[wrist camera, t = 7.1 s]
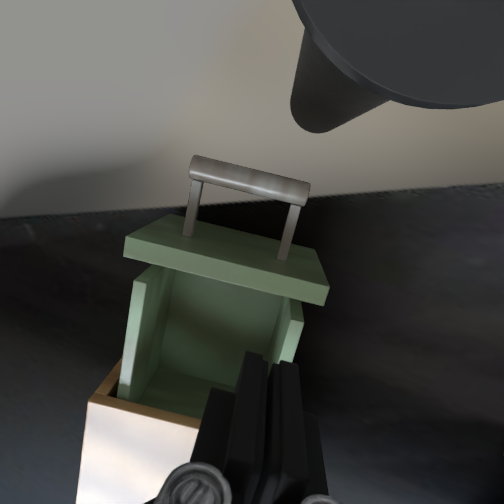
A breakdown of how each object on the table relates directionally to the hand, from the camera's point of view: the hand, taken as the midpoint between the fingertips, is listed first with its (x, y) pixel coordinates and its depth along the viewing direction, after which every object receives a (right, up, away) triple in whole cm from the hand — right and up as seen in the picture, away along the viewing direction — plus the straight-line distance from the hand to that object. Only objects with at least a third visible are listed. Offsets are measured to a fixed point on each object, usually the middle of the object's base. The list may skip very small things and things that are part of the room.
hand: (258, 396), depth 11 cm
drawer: (-2, +2, +17) cm, 17 cm away
